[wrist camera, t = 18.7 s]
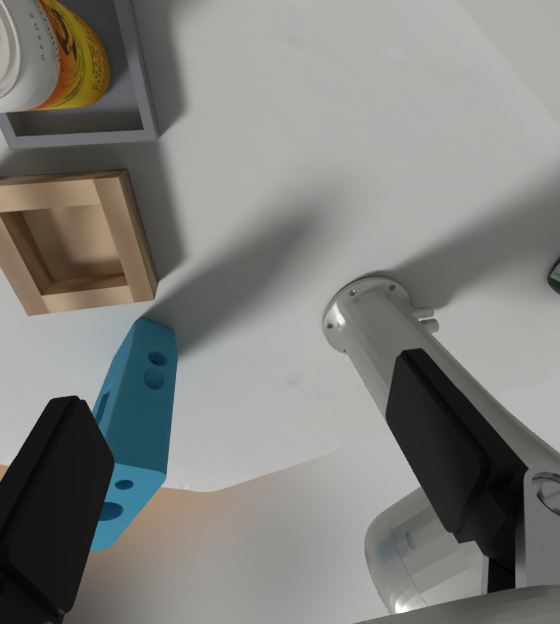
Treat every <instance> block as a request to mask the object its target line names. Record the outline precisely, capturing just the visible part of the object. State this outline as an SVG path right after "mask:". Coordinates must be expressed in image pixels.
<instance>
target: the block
mask: <svg viewBox="0 0 560 624" xmlns="http://www.w3.org/2000/svg"><path fill="white" fill-rule="evenodd" d="M177 361H178V357H177V350H176V342H175V334H174V332H173V330H171V329H170V328H167V327H165V326H162V325H160V324H157V323H155V322H152V321H150V320H147V319H144V318H141V319H137V320H136V321H135V322H134V324H133V326H132V327H131V329H130V331H129V333H128V334H127V336H126V338H125V339H124V341H123V343H122V345H121V346H120V348H119V350H118V351H117V353H116V355H115V356H114V358H113V360H112V363H111V365H110V368H109V371H108V373H107V376H106V378H105V381H104V383H103V386H102V388H101V391H100V393H99V396H98V398H97V401H96V403H95V406H94V408H93V411H92V414H93V416H94V418H95V420H96V422H97V424H98V426H99V428H100V430H101V432H102V434H103V436H104V438H105V440H106V442H107V444H108V446H109V448H110V450H111V452H112V454H113V456H114V461H115V465H114V471H113V474H112V478H111V481H110V484H109V488H108V491H107V495H106V498H105V501H104V505H103V508H102V511H101V515H100V518H99V521H98V525H97V528H96V531H95V535H94V538H93V542H92V545H91V548H90V550H105V549H108V548H109V547H111V546H112V545H113V544H114V542H115V541H116V540H117V539H118V537H119V536H120V535H121V534H122V532H123V531H124V530H125V529H126V528H127V527H128V525H129V524H130V523H131V521H132V520H133V519H134V518H135V517H136V516H137V514H138V513H139V512H140V511H141V510H142V508H143V507H144V506H145V505H146V503H147V502H148V501H149V500H150V499H151V497H152V496H153V495H154V494H155V493H156V491H157V490H158V489H159V488H160V486H161V485H162V484H163V483H164V482H165V480H166V474H167V464H168V453H169V443H170V433H171V422H172V412H173V402H174V391H175V381H176V371H177Z"/></svg>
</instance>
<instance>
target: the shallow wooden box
mask: <svg viewBox="0 0 560 624" xmlns="http://www.w3.org/2000/svg"><path fill="white" fill-rule="evenodd" d="M0 267H1V269H2V270H3V272H4V274H5V276H6V278H7V279H8V281H9V283H10V285H11V286H12V288H13V290H14V292H15V293H16V295H17V297H18V299H19V301H20V302H21V304H22V306H23V308H24V309H25V311H26V313H27V315H28V316H32V315H40V314H48V313H56V312H64V311H71V310H79V309H87V308H95V307H103V306H111V305H119V304H127V303H134V302H142V301H150V300H154V299H155V295H156V291H157V287H158V283H159V282H158V278H157V274H156V271H155V267H154V263H153V260H152V256H151V253H150V249H149V245H148V242H147V238H146V234H145V231H144V227H143V224H142V220H141V216H140V213H139V209H138V205H137V202H136V198H135V194H134V191H133V187H132V184H131V180H130V176H129V173H128V169H118V170H104V171H90V172H75V173H61V174H47V175H33V176H18V177H4V178H0Z"/></svg>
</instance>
